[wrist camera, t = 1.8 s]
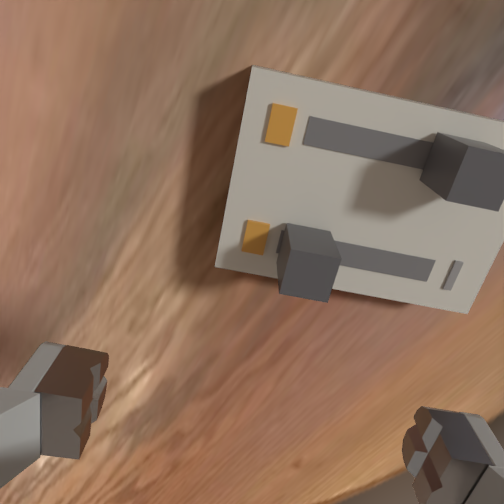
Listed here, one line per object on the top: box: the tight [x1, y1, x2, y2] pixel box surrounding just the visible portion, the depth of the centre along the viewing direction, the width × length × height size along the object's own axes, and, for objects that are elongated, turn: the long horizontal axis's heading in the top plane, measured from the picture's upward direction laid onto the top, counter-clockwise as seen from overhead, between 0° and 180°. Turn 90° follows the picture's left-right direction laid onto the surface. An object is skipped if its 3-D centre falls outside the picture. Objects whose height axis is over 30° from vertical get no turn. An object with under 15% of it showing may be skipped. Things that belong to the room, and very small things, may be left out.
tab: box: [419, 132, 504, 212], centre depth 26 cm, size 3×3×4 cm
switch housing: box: [215, 65, 504, 314], centre depth 31 cm, size 14×20×4 cm
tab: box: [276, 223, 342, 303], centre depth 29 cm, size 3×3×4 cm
